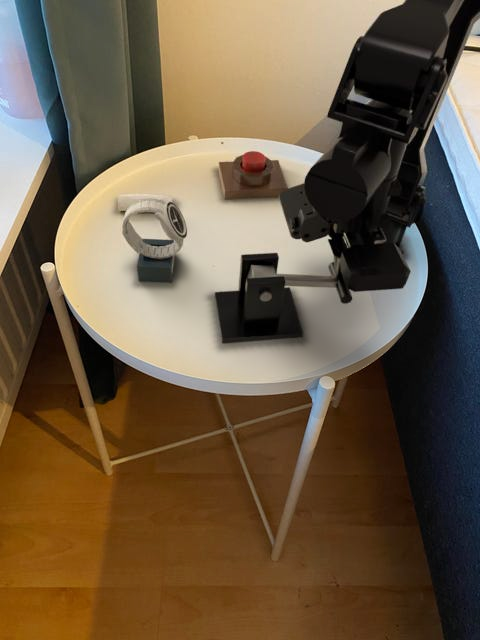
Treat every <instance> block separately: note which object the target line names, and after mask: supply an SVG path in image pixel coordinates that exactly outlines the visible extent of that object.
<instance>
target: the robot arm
mask: <svg viewBox="0 0 480 640" xmlns="http://www.w3.org/2000/svg"><path fill="white" fill-rule="evenodd" d="M479 20H480V0H404V1H403V3H401V4H399V5H396V6H394V7H392V8H389V9H387V10H384V11H382V12H381V13H380V14H379V15H378V16H377V17H376V18H375V19H374V21H373V22H372V24H371V25H370V26H369V27H368V29H367V30H366V31H365V33H364V35H361V36H359V37H358V38H357V40H356V41H355V43H354V44H353V47H352V50H351V52H350V54H349V56H348V59H347V62H346V65H345V68H344V70H343V72H342V75H341V77H340V80H339V83H338V85H337V88H336V91H335V93H334V96H333V99H332V101H331V104H330V106H329V109H328V111H327V115H326V118H327V119H330V120H333V121H336V122H340V123H342V124H341V128H340V133H339V135H338V137H337V139H336V140H335V141H333V143H332V144H331V145H330V146H329V147H328V149H326V151H325V152H324V153H323V154H322V155H321V156H320V157H319V158H318V160H317V161H316V162H314V164H313V165H312V166H311V167H310V169H309V170H308V172H307V174H306V175H305V177H304V181H303V183H300V184H297V185H294V186H291V187H289V188H288V189H286V190H283V191H282V192H281V193H280V194H279V197H278V200H279V202H280V206H281V209H282V213H283V216H284V219H285V221H286V222H285V223H286V225H287V229H288V232H289V235H290V237H291V238H292V239H294V240H301V241H302V242H304V243H310V242H314V241H316V240H320V239H322V238H326V237H327V236H328V237H329V238H328V239H327V242H328V244H329V247H330V250H331V252H332V255H333V262H334V267H335V276H336V279H337V280H344V281H345V283H346V286H347V288H348V289H349V290H350V291H351V292H354V293H359V292H374V291H386V290H387V291H388V290H401V289H402V290H403V289H404V287H405V286H406V285H407V282H408V279H409V277H410V274H411V269H410V267H409V265H408V263H407V261H406V259H405V257H404V253H405V250H404V249H403V246H402V245H401V244H402V243H403V242H402V241H403V239H404V236H405V233H406V230H407V228H409V229H410V228H411V226H412V225H414V224H417V223H420V221H421V220H422V217H423V214H424V211H425V208H426V202H427V199H426V197H427V196H426V195H427V193H426V192H427V190H426V189H427V188H426V187H424V186H423V184H424V182H425V179H426V177H427V175H428V167H427V161H426V154H425V147H426V145H427V142H428V139H429V137H430V134H431V132H432V129H433V127H434V125H435V122H436V120H437V117H438V115H439V112H440V110H441V107H442V104H443V102H444V100H445V97H446V94H447V92H448V90H449V87H450V84H451V82H452V79H453V77H454V75H455V72H456V69H457V67H458V64H459V62H460V60H461V57H462V54H463V53H464V49H465V47H466V45H467V42H468V39H469V38H470V34H471V33H472V30H473V27H474V25H475V24H476V23H477V22H478V21H479ZM352 90H353V92H354V94H355V95H357V96H360V97H364V98H367V99H370V100H368V101H367V102H366V103H363V102H360V101H357V100H354V99H350V98H349V96H350V94H351V92H352Z"/></svg>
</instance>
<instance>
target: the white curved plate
mask: <svg viewBox="0 0 480 640" xmlns="http://www.w3.org/2000/svg"><path fill="white" fill-rule="evenodd" d="M147 198H152V199H162V200H165V201H167V202H169V201H171V202H173V198H172V197H170V196H167V195H161V194H149V193H124V194H120V195H118V196H117V207H118V212H126V210H127V209H128V207H129V206H130V205H132V204H133V203H134V202H136V201H138V200H141V199H147ZM149 213H152V212H151V211H150V212H149Z"/></svg>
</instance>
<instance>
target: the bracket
mask: <svg viewBox="0 0 480 640" xmlns="http://www.w3.org/2000/svg"><path fill="white" fill-rule="evenodd" d="M279 259H280V256H279V253H278V252H267V253H266V252H264V253H247V254H241V255H240V264H239V276H238V277H239V278H238V290H229V291H227V290H226V291H215V292H214V302H215V308H216V314H217V320H218V328H219V333H220V339H221V344H231V343H232V344H233V343H235V344H236V343H247V342H258V341H269V340H270V341H271V340H272V341H273V340H284V339H297V338H303V335H304V331H303V328H302V324H301V321H300V317H299V314H298V311H297V307H296V303H295V300H294V297H293V293H292V291H291V286H285V278H284V276H278V277H262V278H247V277H248V273H249V270H250V266H251V265H265V266H274V270H275V273H276V274H278V266H279Z"/></svg>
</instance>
